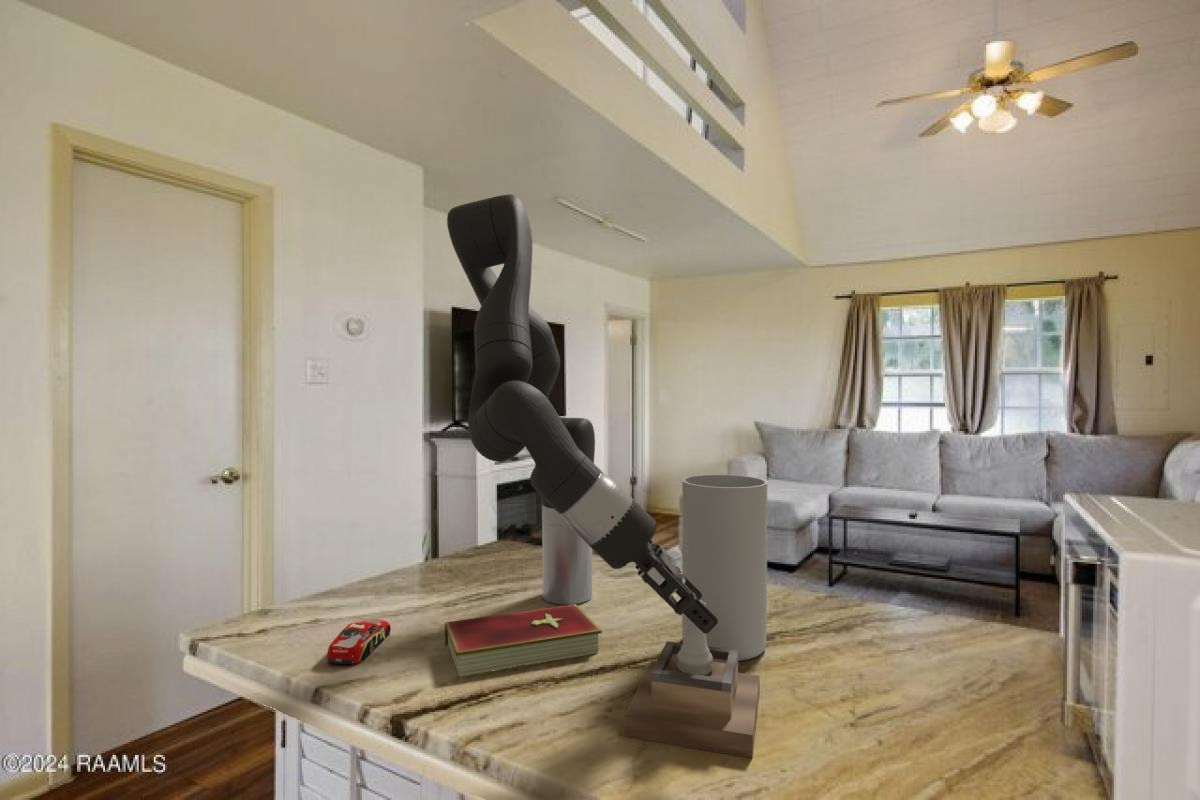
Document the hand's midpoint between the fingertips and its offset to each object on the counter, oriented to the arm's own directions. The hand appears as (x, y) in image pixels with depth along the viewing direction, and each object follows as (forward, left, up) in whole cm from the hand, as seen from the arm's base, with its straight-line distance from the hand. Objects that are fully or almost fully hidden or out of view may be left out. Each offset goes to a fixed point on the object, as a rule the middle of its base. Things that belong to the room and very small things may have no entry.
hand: (703, 613), depth 75 cm
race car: (-4, -52, -13) cm, 54 cm away
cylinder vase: (-21, 0, -12) cm, 24 cm away
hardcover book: (-11, -29, -13) cm, 33 cm away
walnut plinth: (0, -1, -12) cm, 12 cm away
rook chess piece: (+1, -1, -7) cm, 7 cm away
